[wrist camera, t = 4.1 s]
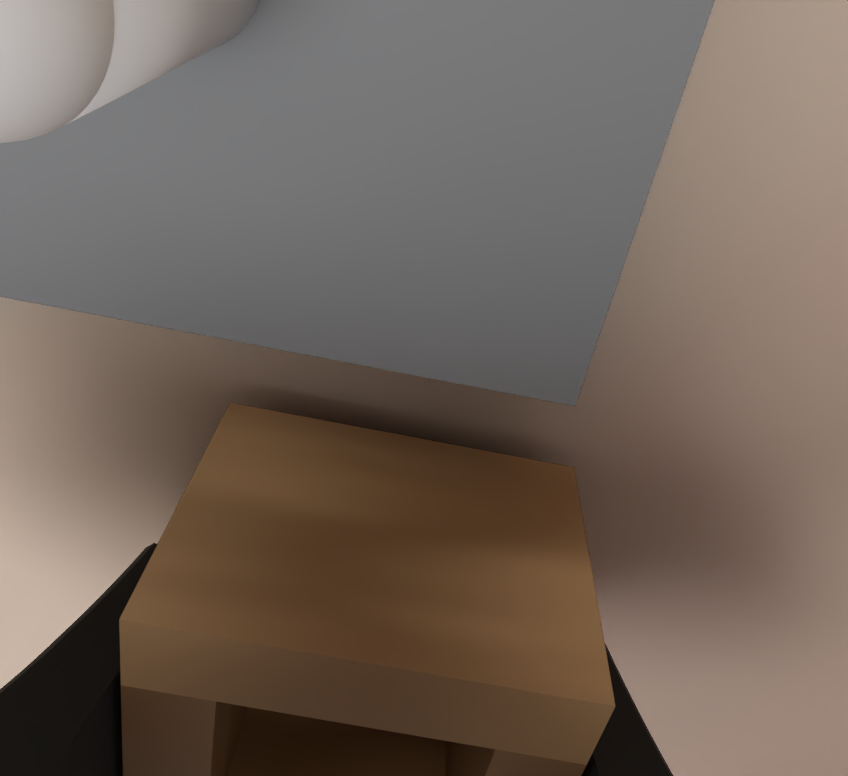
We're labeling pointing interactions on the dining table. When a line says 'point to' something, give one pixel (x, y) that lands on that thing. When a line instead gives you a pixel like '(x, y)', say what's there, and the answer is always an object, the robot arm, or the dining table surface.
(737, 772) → the dining table surface
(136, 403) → the dining table surface
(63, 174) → the rod stand
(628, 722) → the robot arm
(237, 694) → the wooden square ring
